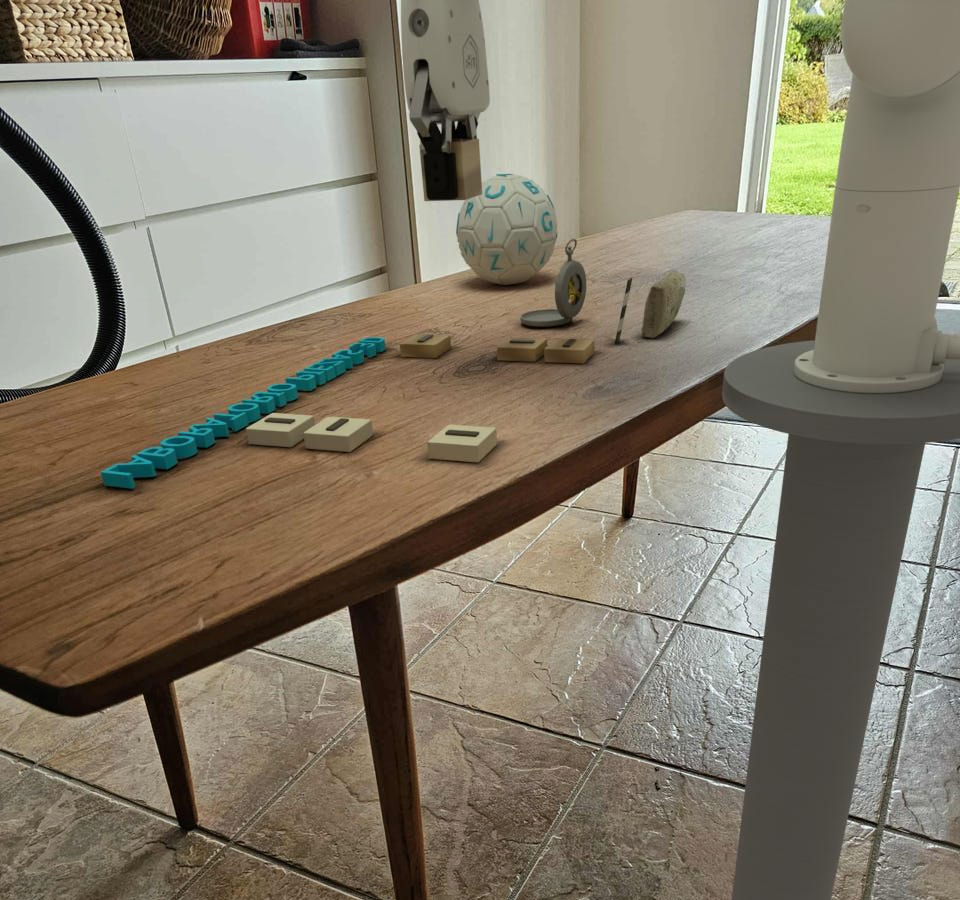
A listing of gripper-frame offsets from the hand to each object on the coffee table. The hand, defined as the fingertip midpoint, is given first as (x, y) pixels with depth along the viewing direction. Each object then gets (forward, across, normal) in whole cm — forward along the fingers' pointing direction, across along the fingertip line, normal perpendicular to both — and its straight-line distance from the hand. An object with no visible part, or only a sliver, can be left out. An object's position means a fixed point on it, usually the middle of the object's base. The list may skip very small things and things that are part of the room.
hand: (453, 193), depth 91 cm
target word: (+17, -25, -2) cm, 31 cm away
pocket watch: (+17, +20, -4) cm, 26 cm away
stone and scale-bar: (+17, +17, -17) cm, 30 cm away
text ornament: (+17, -17, +14) cm, 28 cm away
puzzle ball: (+17, +44, +12) cm, 49 cm away
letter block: (0, 0, 0) cm, 0 cm away
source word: (+17, +5, -2) cm, 18 cm away
